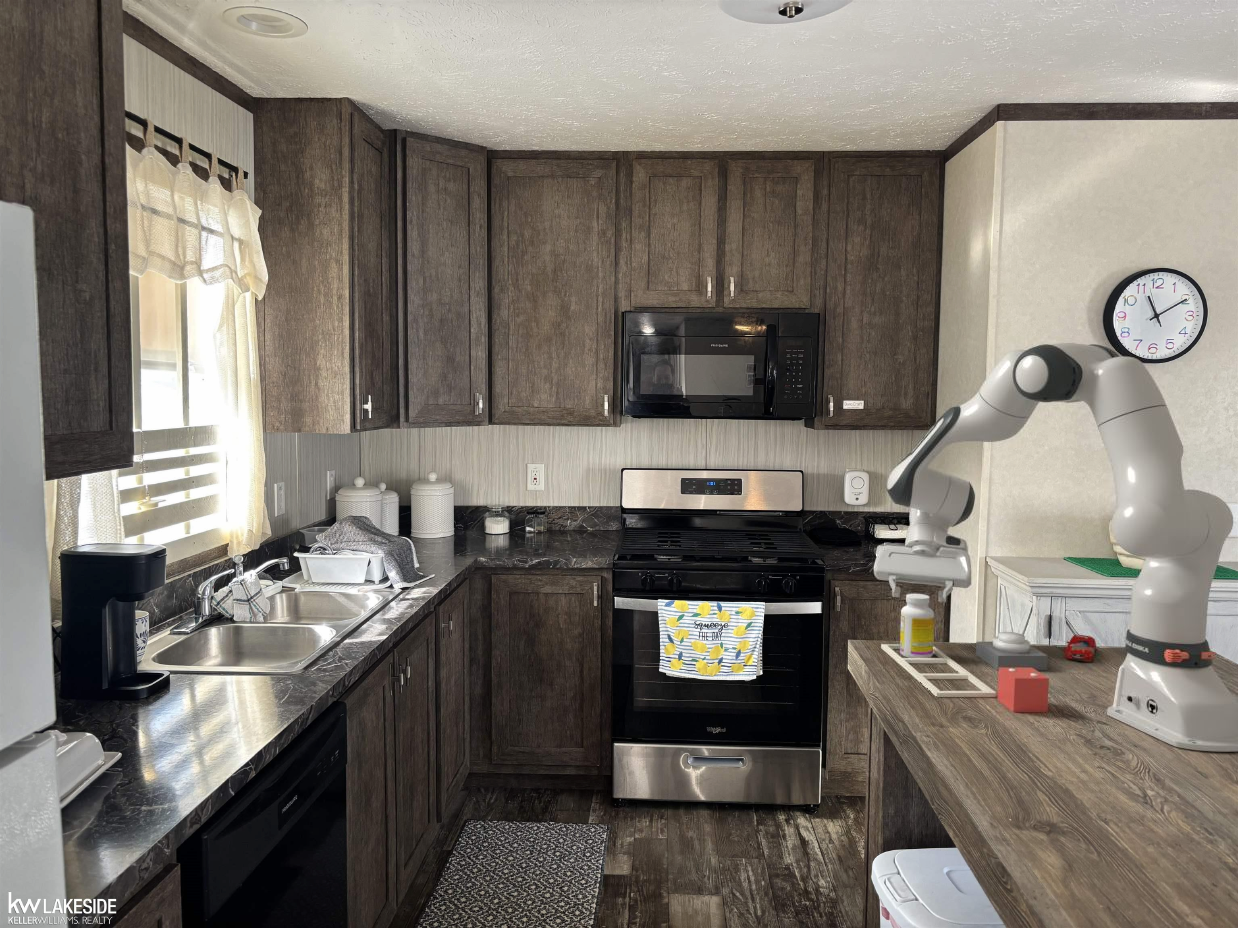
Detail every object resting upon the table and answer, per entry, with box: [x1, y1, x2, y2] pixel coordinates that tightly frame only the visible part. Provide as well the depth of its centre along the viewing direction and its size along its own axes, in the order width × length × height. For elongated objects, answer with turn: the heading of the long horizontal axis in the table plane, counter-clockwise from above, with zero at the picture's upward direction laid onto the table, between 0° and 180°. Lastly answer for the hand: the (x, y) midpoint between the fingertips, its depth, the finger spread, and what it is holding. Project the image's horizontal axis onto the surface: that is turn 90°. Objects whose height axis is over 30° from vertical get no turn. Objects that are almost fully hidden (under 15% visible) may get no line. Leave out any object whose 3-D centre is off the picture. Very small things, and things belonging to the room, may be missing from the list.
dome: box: [992, 631, 1031, 653], centre depth 178 cm, size 7×7×3 cm
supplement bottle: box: [899, 593, 935, 658], centre depth 183 cm, size 7×7×13 cm
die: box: [997, 668, 1050, 713], centre depth 153 cm, size 6×6×6 cm
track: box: [880, 643, 998, 698], centre depth 173 cm, size 31×11×1 cm, turn 1°
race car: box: [1064, 634, 1097, 663], centre depth 185 cm, size 13×5×4 cm, turn 145°
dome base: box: [975, 641, 1048, 671], centre depth 179 cm, size 10×10×3 cm
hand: (918, 597), depth 185 cm, fingers open, 8 cm apart
